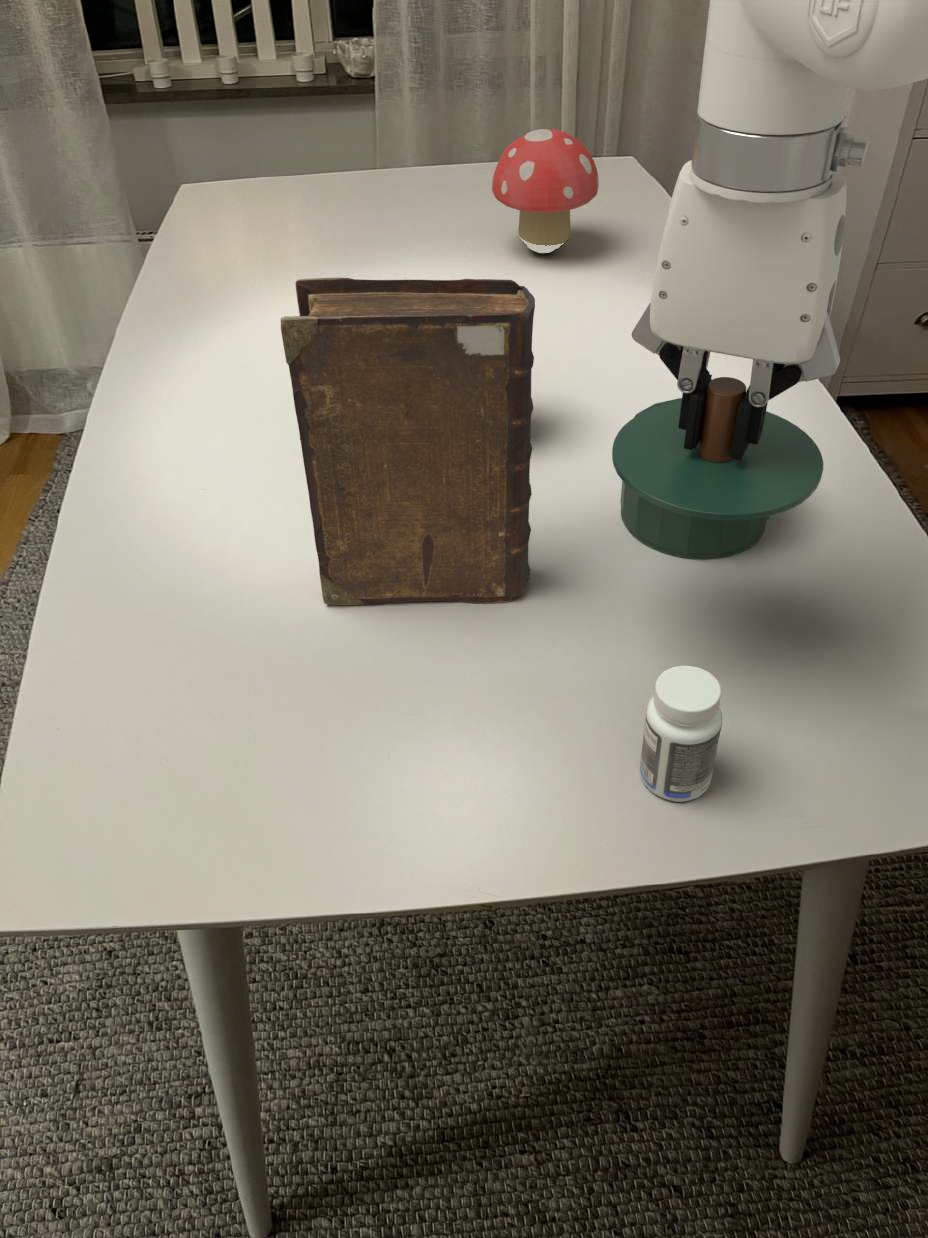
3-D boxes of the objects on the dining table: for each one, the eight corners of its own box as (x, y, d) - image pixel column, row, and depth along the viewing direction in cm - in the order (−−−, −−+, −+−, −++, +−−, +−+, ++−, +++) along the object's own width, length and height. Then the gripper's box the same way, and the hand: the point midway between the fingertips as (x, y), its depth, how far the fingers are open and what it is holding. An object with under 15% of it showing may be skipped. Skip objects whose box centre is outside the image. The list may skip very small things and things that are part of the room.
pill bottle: (721, 766, 68) (740, 677, 63) (693, 814, 65) (710, 726, 60) (656, 738, 70) (668, 650, 65) (626, 784, 67) (636, 696, 62)
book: (533, 565, 85) (538, 275, 68) (526, 621, 80) (529, 322, 63) (338, 554, 87) (296, 270, 70) (319, 609, 82) (269, 315, 65)
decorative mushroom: (479, 241, 137) (476, 122, 127) (572, 227, 140) (576, 109, 130) (512, 280, 127) (512, 154, 117) (611, 264, 130) (619, 139, 120)
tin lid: (837, 437, 70) (857, 356, 66) (795, 549, 61) (816, 464, 57) (647, 399, 75) (655, 321, 71) (582, 498, 66) (587, 416, 62)
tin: (780, 492, 92) (797, 414, 86) (746, 574, 83) (762, 493, 78) (646, 462, 96) (653, 386, 90) (600, 537, 87) (606, 458, 82)
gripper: (930, 145, 54) (853, 441, 67) (641, 116, 60) (619, 394, 72) (911, 193, 50) (832, 502, 62) (598, 156, 55) (582, 447, 67)
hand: (718, 442), depth 67 cm, fingers closed on tin lid, 2 cm apart
